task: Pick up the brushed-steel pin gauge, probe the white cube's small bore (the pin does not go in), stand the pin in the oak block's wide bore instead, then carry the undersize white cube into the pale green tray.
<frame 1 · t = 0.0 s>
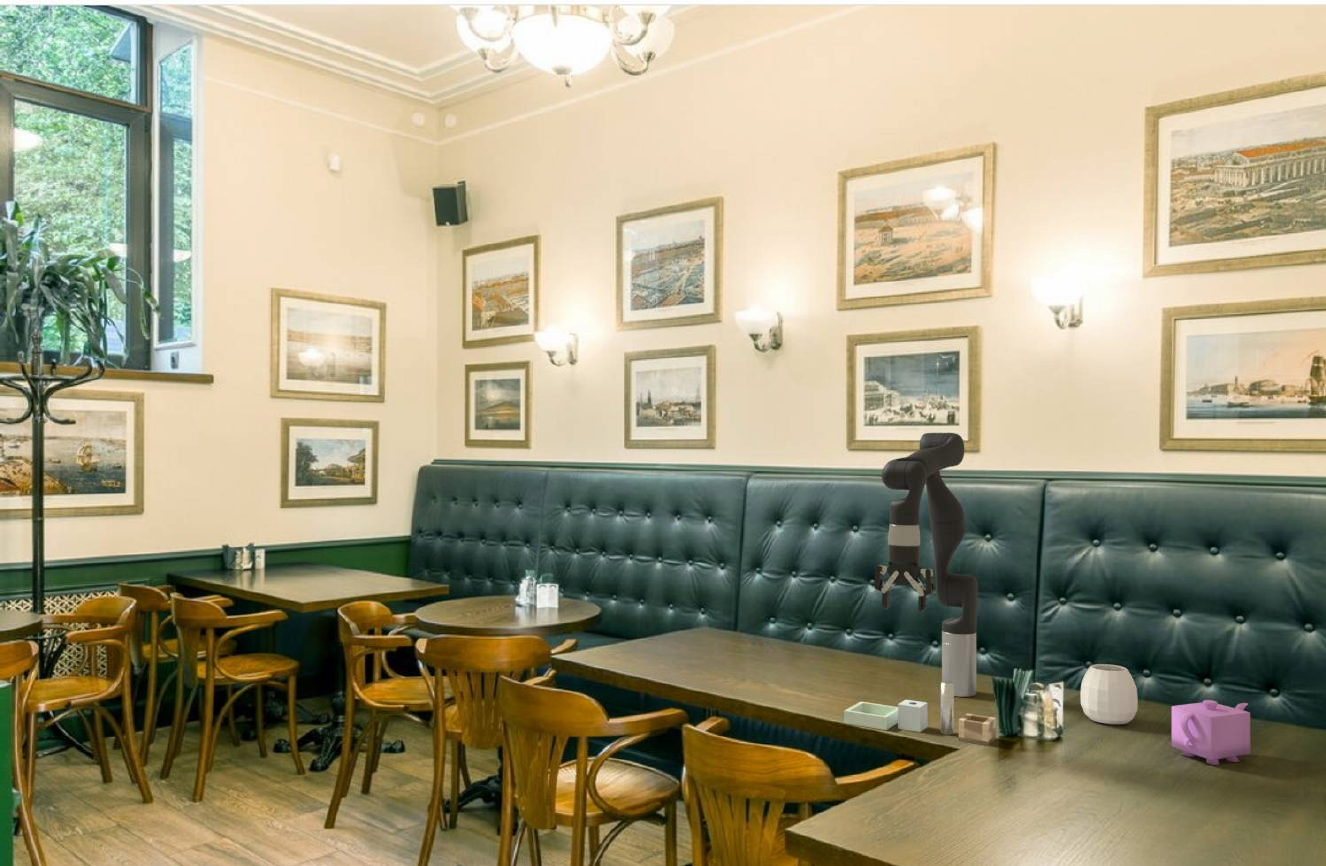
hand: (904, 609, 242), 29 cm above the table, fingers open, 8 cm apart
white vase: (1108, 721, 251), on the table
tray: (873, 721, 249), on the table
teapot: (1215, 757, 223), on the table
oak block: (977, 740, 235), on the table
white cube: (912, 727, 244), on the table
pin gauge: (947, 733, 240), on the table
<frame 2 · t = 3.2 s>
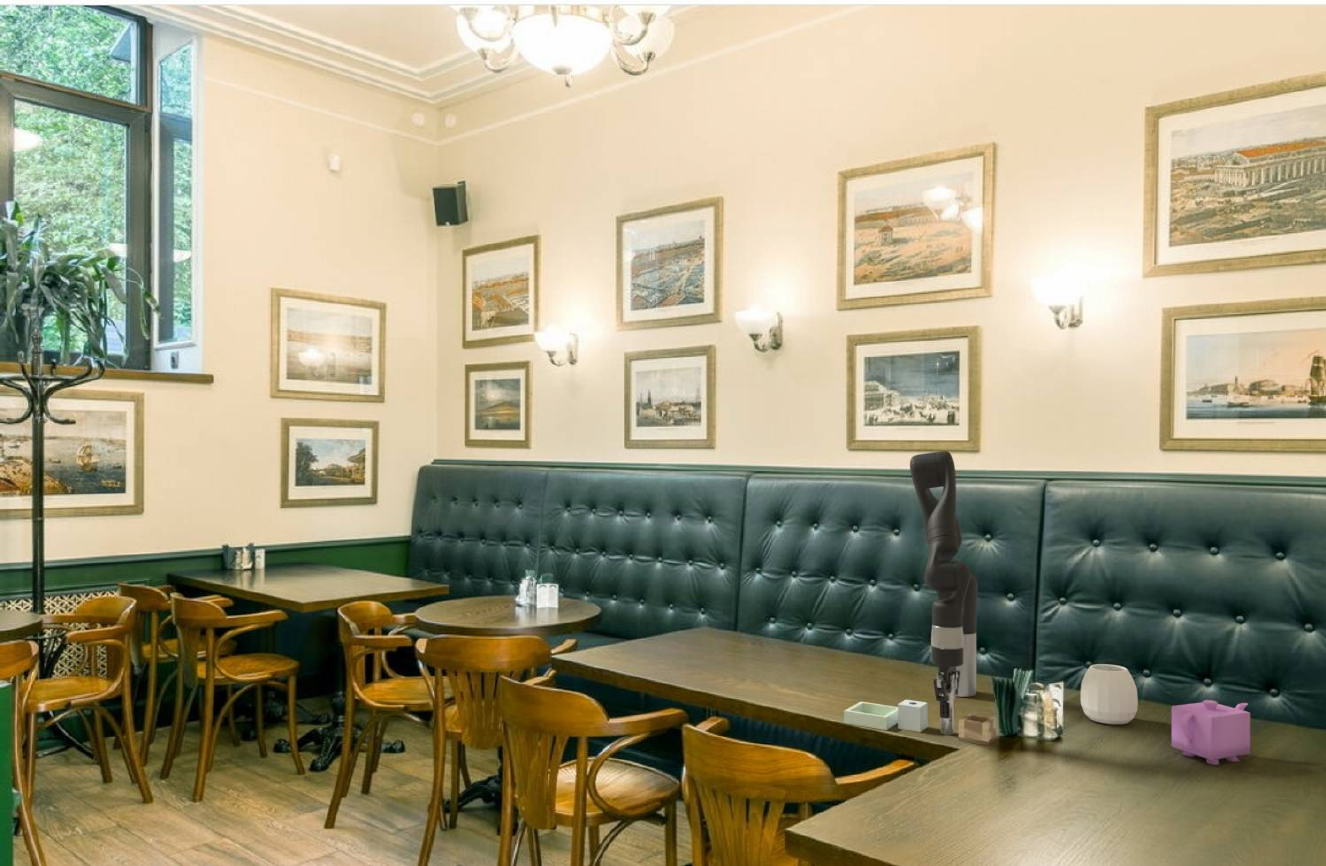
hand: (947, 715, 240), 4 cm above the table, fingers closed on pin gauge, 3 cm apart
pin gauge: (947, 733, 240), on the table, touching gripper
everything else where it was.
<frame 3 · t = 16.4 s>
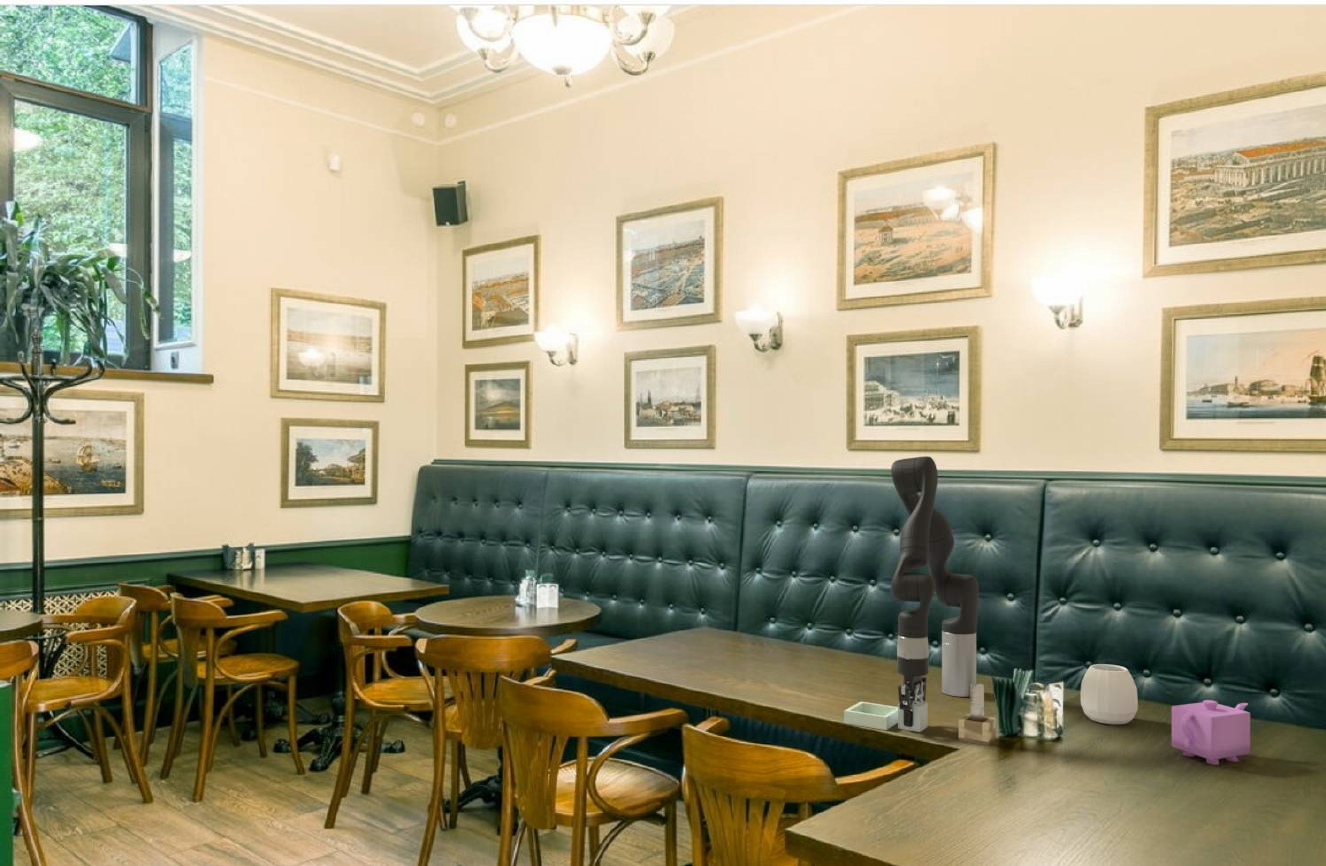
hand: (912, 722, 244), 1 cm above the table, fingers closed on white cube, 5 cm apart
oak block: (977, 740, 235), on the table, touching pin gauge
white cube: (912, 727, 244), on the table, touching gripper
pin gauge: (977, 735, 235), point 1 cm above the table, touching oak block
everything else where it was.
when the fingers open (4 cm above the table, at t = 20.6 s): white cube drops 2 cm, resting on tray.
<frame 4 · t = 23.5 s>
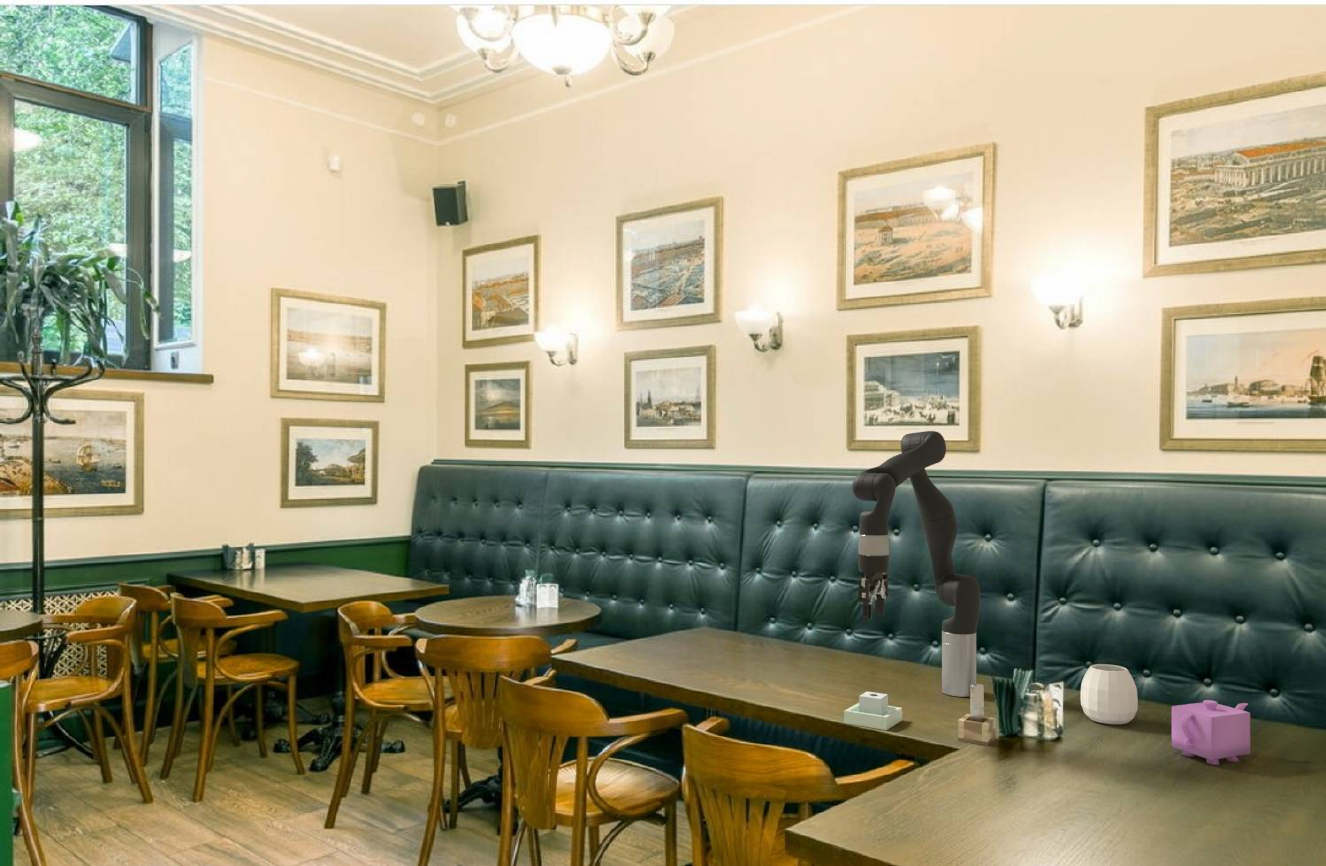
hand: (873, 617, 250), 26 cm above the table, fingers open, 8 cm apart
white cube: (873, 719, 250), point 1 cm above the table, touching tray
everything else where it was.
at the end: white cube inside the target area on the tray (0.1 cm from its centre), point 0.6 cm above the tray's base; pin gauge 0.2 cm off-centre on the oak block, point 1.0 cm above the oak block's base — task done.
